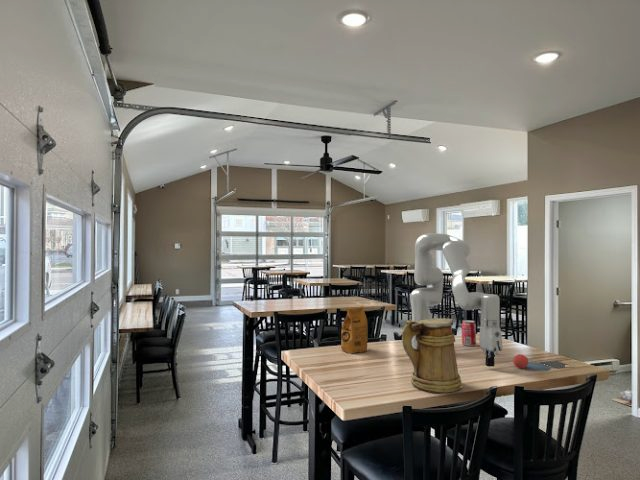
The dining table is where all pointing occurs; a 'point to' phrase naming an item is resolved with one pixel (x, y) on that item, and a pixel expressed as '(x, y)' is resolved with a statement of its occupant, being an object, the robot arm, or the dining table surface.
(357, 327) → the coffee package
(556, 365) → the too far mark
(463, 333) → the soda can
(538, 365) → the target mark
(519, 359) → the ball
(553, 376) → the dining table surface
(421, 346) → the tankard
